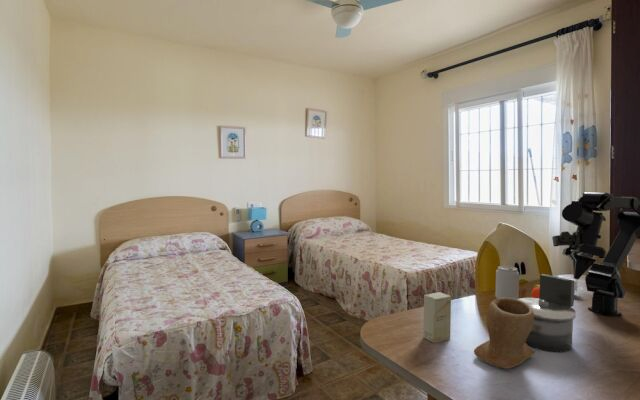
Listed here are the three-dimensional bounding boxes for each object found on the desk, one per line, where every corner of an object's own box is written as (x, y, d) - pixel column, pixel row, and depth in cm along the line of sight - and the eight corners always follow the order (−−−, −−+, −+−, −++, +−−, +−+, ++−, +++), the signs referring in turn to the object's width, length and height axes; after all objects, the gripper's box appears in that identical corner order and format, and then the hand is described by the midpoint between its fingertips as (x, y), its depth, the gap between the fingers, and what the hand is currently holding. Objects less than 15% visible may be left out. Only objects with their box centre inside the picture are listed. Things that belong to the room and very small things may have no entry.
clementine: (523, 303, 124) (524, 283, 124) (534, 299, 128) (535, 280, 127) (547, 310, 117) (548, 289, 117) (558, 306, 121) (559, 286, 121)
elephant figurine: (559, 297, 131) (560, 278, 130) (550, 289, 140) (551, 271, 140) (583, 299, 129) (584, 280, 128) (573, 291, 138) (573, 273, 137)
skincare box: (434, 343, 94) (435, 299, 93) (422, 337, 98) (423, 294, 97) (451, 338, 97) (452, 295, 96) (438, 332, 101) (439, 291, 100)
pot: (508, 318, 111) (508, 294, 110) (581, 344, 93) (582, 314, 93) (482, 328, 104) (483, 301, 103) (556, 357, 87) (557, 325, 86)
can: (522, 303, 124) (523, 270, 123) (501, 303, 124) (502, 270, 124) (511, 296, 132) (512, 264, 131) (491, 296, 132) (492, 264, 131)
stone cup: (515, 380, 77) (517, 313, 76) (466, 357, 87) (468, 298, 86) (549, 361, 85) (551, 300, 84) (501, 342, 95) (503, 287, 94)
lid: (531, 298, 105) (532, 271, 104) (586, 313, 93) (587, 283, 92) (503, 307, 97) (504, 278, 97) (559, 325, 86) (560, 292, 85)
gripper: (551, 227, 121) (539, 270, 120) (566, 219, 104) (553, 270, 103) (589, 236, 117) (577, 281, 116) (612, 230, 100) (599, 283, 99)
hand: (576, 278), depth 108 cm, fingers closed
